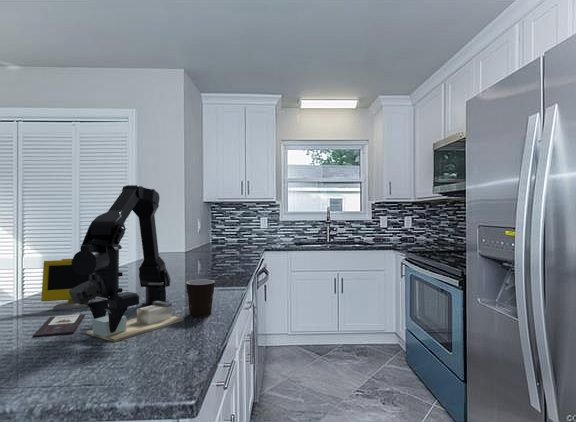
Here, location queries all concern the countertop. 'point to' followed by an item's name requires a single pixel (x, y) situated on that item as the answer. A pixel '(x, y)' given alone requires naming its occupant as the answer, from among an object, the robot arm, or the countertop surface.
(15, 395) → the countertop surface
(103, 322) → the stub
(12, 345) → the countertop surface
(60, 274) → the toy computer monitor
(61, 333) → the chocolate bar
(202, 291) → the coffee mug
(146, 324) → the board
